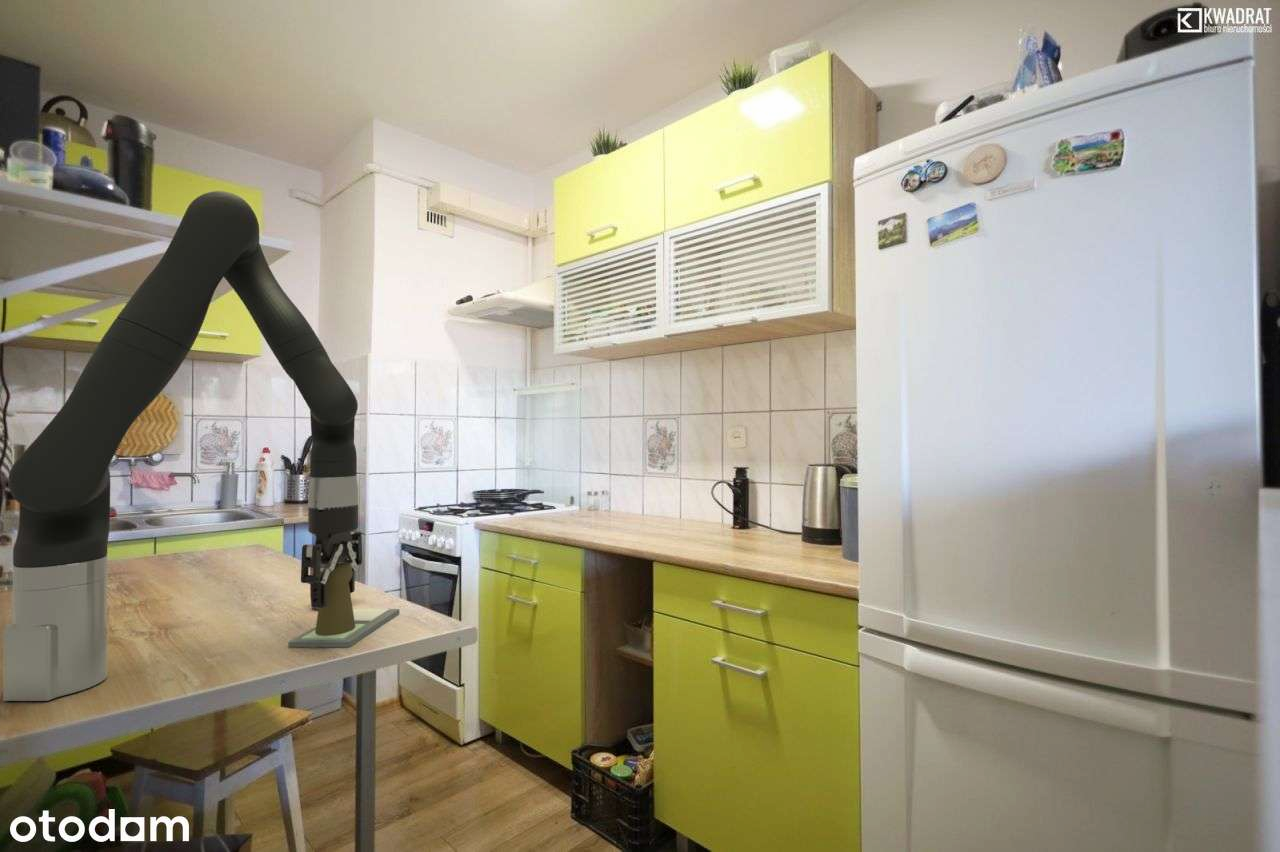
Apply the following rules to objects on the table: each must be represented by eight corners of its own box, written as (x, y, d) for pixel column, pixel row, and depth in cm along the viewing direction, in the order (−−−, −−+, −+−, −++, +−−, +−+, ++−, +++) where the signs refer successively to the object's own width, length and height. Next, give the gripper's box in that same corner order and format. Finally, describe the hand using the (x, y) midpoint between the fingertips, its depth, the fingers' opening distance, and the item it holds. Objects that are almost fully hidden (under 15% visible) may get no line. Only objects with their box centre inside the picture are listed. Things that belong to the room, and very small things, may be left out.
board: (349, 647, 94) (349, 639, 94) (288, 647, 94) (288, 640, 94) (399, 613, 112) (399, 607, 112) (348, 613, 112) (348, 607, 112)
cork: (339, 636, 96) (338, 568, 96) (306, 634, 97) (306, 567, 97) (363, 624, 102) (362, 561, 102) (332, 623, 103) (332, 560, 103)
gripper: (335, 499, 106) (335, 589, 106) (285, 508, 92) (284, 612, 92) (376, 498, 106) (376, 588, 106) (331, 508, 92) (331, 612, 91)
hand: (333, 599), depth 99 cm, fingers open, 8 cm apart
